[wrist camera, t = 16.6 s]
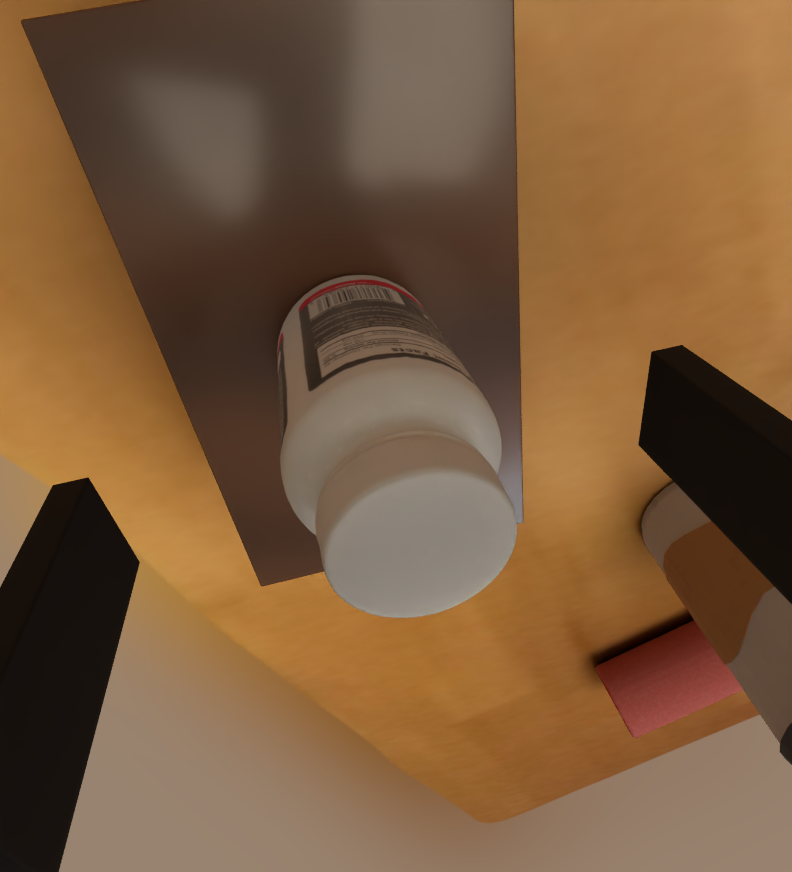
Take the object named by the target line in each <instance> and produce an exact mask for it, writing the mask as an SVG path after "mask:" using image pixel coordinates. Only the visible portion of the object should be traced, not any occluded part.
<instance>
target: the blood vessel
mask: <svg viewBox="0 0 792 872" xmlns="http://www.w3.org/2000/svg"><path fill="white" fill-rule="evenodd" d="M595 669H596V671H597V673H598V675H599V677H600V679H601V680H602V682H603V684H604V686H605V688H606V690H607V691H608V693H609V695H610V697H611V699H612V701H613V703H614V704H615V706H616V708H617V710H618V712H619V714H620V715H621V717H622V719H623V721H624V723H625V725H626V726H627V728H628V730H629V732H630V734H631V735H632V737H634V738H637V737H639V736H642V735H644V734H646V733H648V732H651V731H653V730H655V729H657V728H659V727H662V726H664V725H666V724H668V723H671V722H673V721H675V720H677V719H680V718H682V717H684V716H686V715H688V714H691V713H693V712H695V711H697V710H700V709H702V708H704V707H706V706H708V705H711V704H713V703H715V702H717V701H720V700H722V699H724V698H726V697H729V696H731V695H733V694H735V693H737V692H740V691H742V690H743V688H742V687H741V685H740V684H739V682H738V681H737V680H736V678H735V677H734V675H733V674H732V672H731V671H730V669H729V668H728V666H726V665H724V663H723V662H722V661H721V659H720V658H719V656H718V655H717V653H716V652H715V650H714V649H713V647H712V646H711V644H710V643H709V641H708V640H707V638H706V637H705V635H704V634H703V632H702V631H701V629H700V628H699V626H698V625H697V623H696V622H695V620H693V621H691V622H689V623H687V624H685V625H683V626H680V627H678V628H676V629H674V630H672V631H670V632H668V633H666V634H663V635H661V636H659V637H657V638H655V639H653V640H651V641H648V642H646V643H644V644H642V645H640V646H638V647H636V648H634V649H631V650H629V651H627V652H625V653H623V654H621V655H619V656H616V657H614V658H612V659H610V660H608V661H606V662H604V663H602V664H599V665H597V666H596V668H595Z"/></svg>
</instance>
